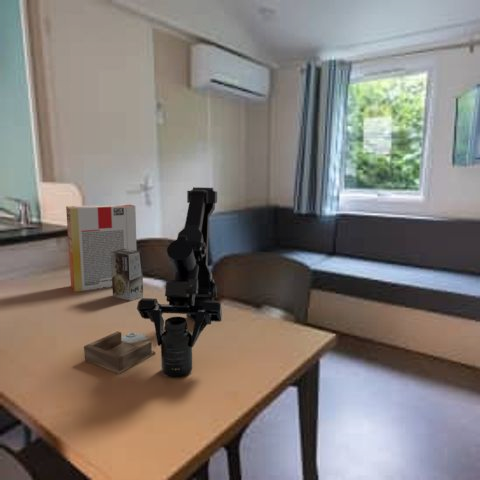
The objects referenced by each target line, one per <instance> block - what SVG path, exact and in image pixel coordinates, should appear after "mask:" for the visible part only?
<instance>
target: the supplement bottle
mask: <svg viewBox="0 0 480 480" xmlns="http://www.w3.org/2000/svg"><path fill="white" fill-rule="evenodd" d="M188 327H189V325H188V320H187V318H186V317H183V316H171V317H169V318H166V319H164V330H163V333H162V335H161V345H160V356H161V357H160V358H161V359H160V360H161V361H160V362H161V372H162V374H163V375H164V376H166V377H168V378H170V379H179V378H184V377H186V376H188V375H189V374H191V372H192V371H193V347H191V346H190V345H191V337H192V331H190V330H189V329H188Z"/></svg>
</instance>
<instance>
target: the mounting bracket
mask: <svg viewBox="0 0 480 480" xmlns="http://www.w3.org/2000/svg"><path fill="white" fill-rule="evenodd" d="M121 341H124V342H127V343H130V344H134V343H138V342H145V341H148V338H147V336H145V334H144V333H139V334H138V333H137V332H128V333H127V334H126V335H125V336H123V335H121Z"/></svg>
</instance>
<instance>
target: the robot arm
mask: <svg viewBox="0 0 480 480" xmlns="http://www.w3.org/2000/svg"><path fill="white" fill-rule="evenodd" d="M186 193H187V195H186V197H187V198H186V199H187V200H186V203H188V206H187V207H188V208H187V212H186V213H187V214H186V219H185V224H184V228H183V229H182V230H180V231H179V232H178V233H177V238H176V239H175V240H174V241H172V242H171V243H169V245H168V247H166V248H167V249H166V252H167V253H166V254H167V256H168V259H169V262H170V265H171V269H172V270H173V279H172V280H171V281H166V282H165V290H164V291H165V293H164V296H165V297H166V299H165V300H166V302H167V303H168V304H160V303H159V302H158V299H157V298H152V297H151V298H150V297H149V298H146V297H141V299H139V301H137V302H138V303H137V306H136V309H137V311H138V313H139V315H140V316H141V318H142V319H145V320H150V322H151V323H153V324H154V328H155V329H154V330H155V336H156V341H157V346H158V347H161V335H162V333H163V332H164V327H165V319H164V318H163V314H180V315H188V316H189V318H190V319H192V321H194V325H193V329H192V332H191V334H192V337H191V345H190V346H191V347H192V348H193V347H194V346H195V344H196V343H197V341H198V339H199V337H200V336H201V333H202V332H203V330H204V329H205V328H206V327H207V325H211V324H212V322H216V323H217V322H222V318H223V317H222V316H223V308H222V303H221V302H220V301H219V300H214V299H215V298H217V284H216V283H215V279H213V272H212V271H211V269H210V267H209V266H208V261H209V257H208V256H209V255H208V254H209V236H210V235H209V234H210V233H209V232H210V217H211V215H212V214H213V213H214V211H215V210H216V209H215V208H216V204H217V203H218V191H215V190H214V187H200V186H199V187H193V188H192V189H191V190H187V191H186Z"/></svg>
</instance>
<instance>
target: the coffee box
mask: <svg viewBox="0 0 480 480" xmlns="http://www.w3.org/2000/svg"><path fill="white" fill-rule="evenodd" d="M111 270H112V287H111V288H112V297H113V298H118V299H122V300H126V301H130V302H132V301H133V300H138V299H140V298H144V284H143V283H144V279H143V278H144V277H143V251H140V250H137V251H136V250H129V249H120V250H116V251H113V252H111Z"/></svg>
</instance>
